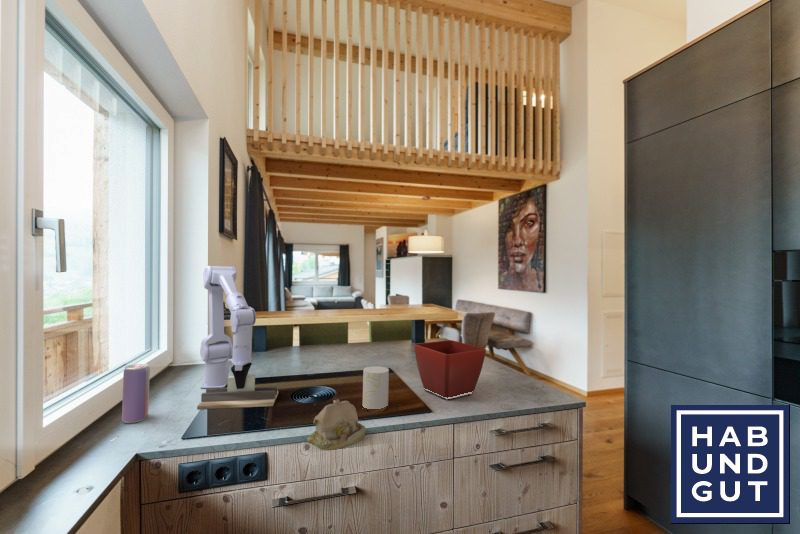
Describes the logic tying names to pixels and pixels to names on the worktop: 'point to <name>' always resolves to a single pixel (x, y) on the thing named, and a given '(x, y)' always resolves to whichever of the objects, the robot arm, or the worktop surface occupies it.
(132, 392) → the beverage can
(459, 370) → the plant pot
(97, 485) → the worktop surface
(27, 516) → the worktop surface
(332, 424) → the ceramic model
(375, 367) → the white cylinder
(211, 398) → the base
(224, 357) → the robot arm
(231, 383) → the cream rectangular block
